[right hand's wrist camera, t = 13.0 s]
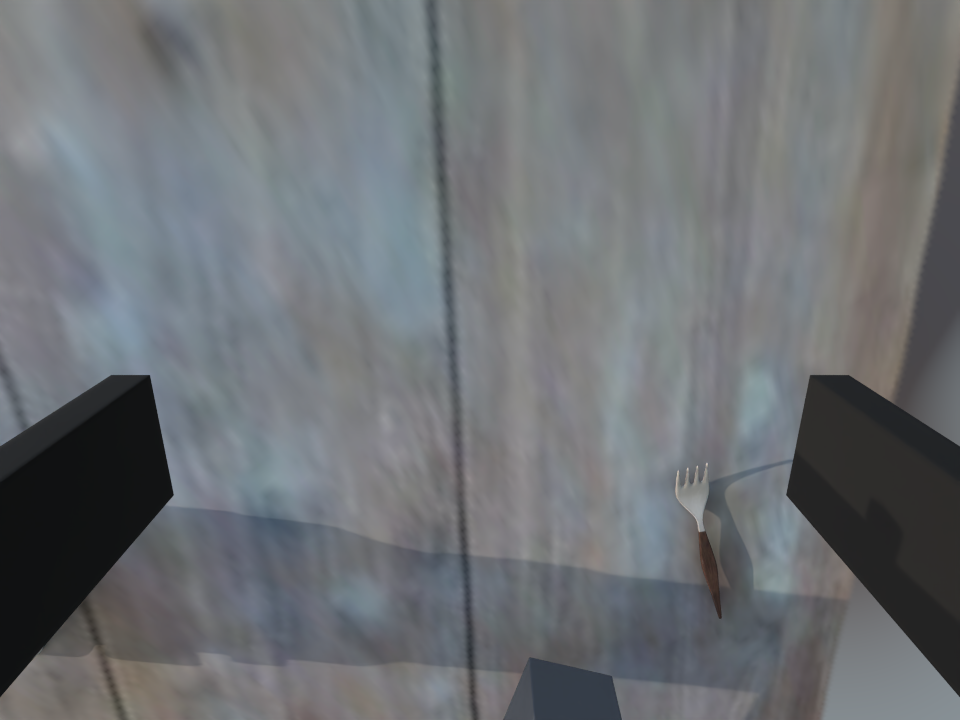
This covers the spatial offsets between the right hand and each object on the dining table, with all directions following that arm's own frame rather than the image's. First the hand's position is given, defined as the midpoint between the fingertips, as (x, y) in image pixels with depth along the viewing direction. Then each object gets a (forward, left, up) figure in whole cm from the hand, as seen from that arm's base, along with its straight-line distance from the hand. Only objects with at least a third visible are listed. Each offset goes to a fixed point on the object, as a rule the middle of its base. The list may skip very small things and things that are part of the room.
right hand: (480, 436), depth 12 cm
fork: (-3, +30, -30) cm, 43 cm away
